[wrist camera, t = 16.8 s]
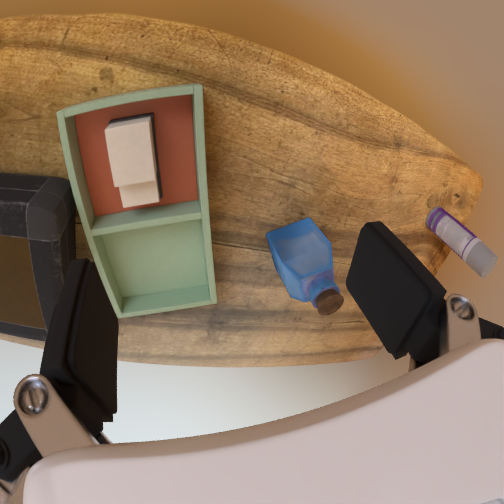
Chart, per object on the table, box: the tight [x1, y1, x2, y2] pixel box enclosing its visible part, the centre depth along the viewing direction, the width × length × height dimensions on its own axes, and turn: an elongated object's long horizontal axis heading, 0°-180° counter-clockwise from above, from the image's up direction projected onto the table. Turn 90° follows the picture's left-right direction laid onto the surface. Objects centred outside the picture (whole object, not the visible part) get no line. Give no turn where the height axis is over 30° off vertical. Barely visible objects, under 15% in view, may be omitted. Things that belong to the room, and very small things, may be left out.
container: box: [426, 207, 497, 278], centre depth 40 cm, size 5×5×15 cm
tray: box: [56, 83, 217, 318], centre depth 30 cm, size 14×26×4 cm, turn 0°
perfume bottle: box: [266, 218, 344, 315], centre depth 35 cm, size 6×6×12 cm
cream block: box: [105, 112, 163, 208], centre depth 25 cm, size 9×4×4 cm, turn 0°
